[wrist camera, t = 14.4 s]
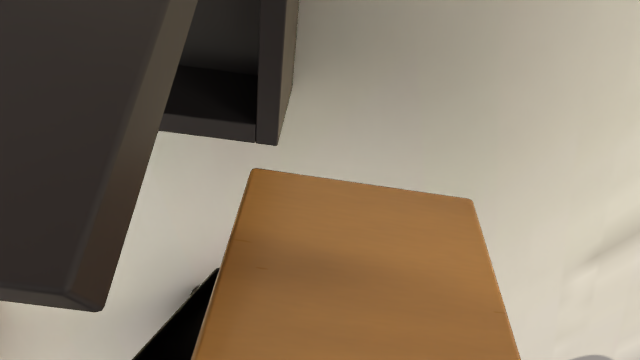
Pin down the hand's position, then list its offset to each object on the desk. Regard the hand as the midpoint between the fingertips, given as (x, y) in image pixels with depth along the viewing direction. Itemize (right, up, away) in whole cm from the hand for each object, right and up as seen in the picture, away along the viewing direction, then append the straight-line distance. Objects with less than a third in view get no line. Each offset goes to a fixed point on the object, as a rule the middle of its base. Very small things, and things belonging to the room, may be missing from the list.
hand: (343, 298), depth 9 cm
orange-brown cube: (0, +1, +1) cm, 1 cm away
